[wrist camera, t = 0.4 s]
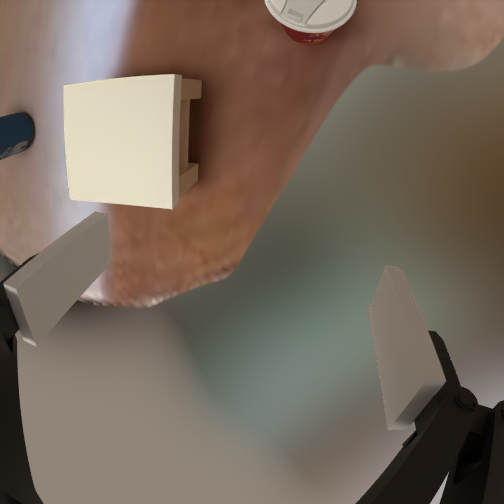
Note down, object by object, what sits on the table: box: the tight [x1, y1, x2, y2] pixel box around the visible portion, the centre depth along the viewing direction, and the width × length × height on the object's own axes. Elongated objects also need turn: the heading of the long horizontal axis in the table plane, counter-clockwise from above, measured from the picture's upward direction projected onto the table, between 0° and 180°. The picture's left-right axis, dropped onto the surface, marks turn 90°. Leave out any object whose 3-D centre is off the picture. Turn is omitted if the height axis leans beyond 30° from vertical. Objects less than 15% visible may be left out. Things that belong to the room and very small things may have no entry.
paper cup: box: [264, 0, 357, 45], centre depth 24 cm, size 8×8×14 cm
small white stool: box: [64, 74, 202, 209], centre depth 35 cm, size 14×14×10 cm
